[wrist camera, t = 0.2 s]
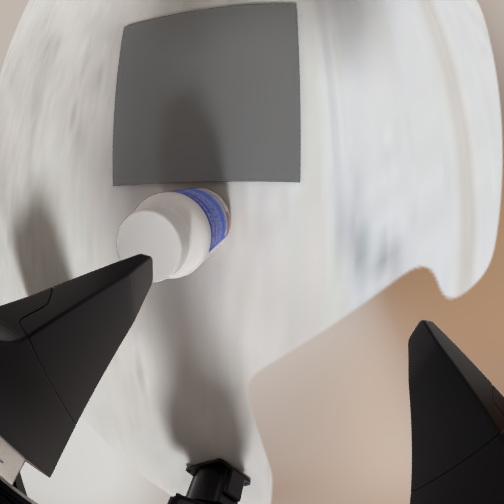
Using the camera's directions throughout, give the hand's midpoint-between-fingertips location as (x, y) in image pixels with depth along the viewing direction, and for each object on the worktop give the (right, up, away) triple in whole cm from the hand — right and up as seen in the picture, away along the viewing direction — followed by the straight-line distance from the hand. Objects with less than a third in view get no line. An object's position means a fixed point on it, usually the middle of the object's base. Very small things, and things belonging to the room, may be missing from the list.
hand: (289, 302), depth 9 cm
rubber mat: (-5, +15, +13) cm, 20 cm away
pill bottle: (-5, +4, +16) cm, 17 cm away
